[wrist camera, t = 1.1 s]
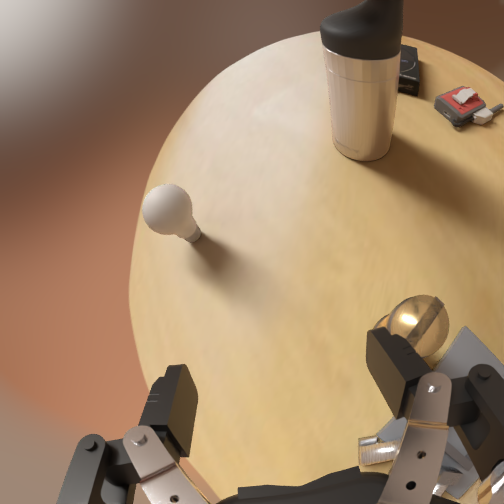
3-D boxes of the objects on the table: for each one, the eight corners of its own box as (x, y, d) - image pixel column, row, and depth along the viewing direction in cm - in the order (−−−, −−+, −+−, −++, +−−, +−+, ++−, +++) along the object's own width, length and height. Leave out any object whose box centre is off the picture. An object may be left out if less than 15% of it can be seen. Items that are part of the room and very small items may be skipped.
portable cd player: (415, 60, 44) (416, 46, 40) (417, 98, 39) (419, 82, 36) (348, 47, 50) (347, 34, 46) (335, 81, 46) (334, 65, 42)
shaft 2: (434, 461, 20) (444, 471, 16) (452, 465, 18) (463, 474, 15) (399, 511, 18) (405, 524, 15) (418, 514, 17) (425, 526, 13)
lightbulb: (178, 221, 41) (137, 181, 31) (215, 214, 40) (180, 168, 30) (175, 259, 39) (128, 225, 29) (214, 253, 37) (174, 214, 28)
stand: (462, 327, 25) (473, 323, 22) (529, 400, 17) (541, 401, 14) (376, 434, 24) (380, 440, 21) (455, 496, 16) (463, 505, 13)
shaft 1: (423, 423, 22) (434, 430, 19) (423, 446, 21) (433, 455, 18) (358, 438, 24) (361, 447, 21) (358, 461, 23) (361, 473, 20)
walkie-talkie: (462, 139, 34) (504, 113, 33) (468, 121, 30) (509, 98, 29) (427, 109, 38) (475, 88, 37) (431, 90, 34) (479, 73, 33)
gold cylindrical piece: (387, 308, 29) (418, 279, 18) (417, 334, 27) (461, 319, 16) (360, 341, 28) (378, 330, 18) (390, 368, 26) (424, 372, 16)
